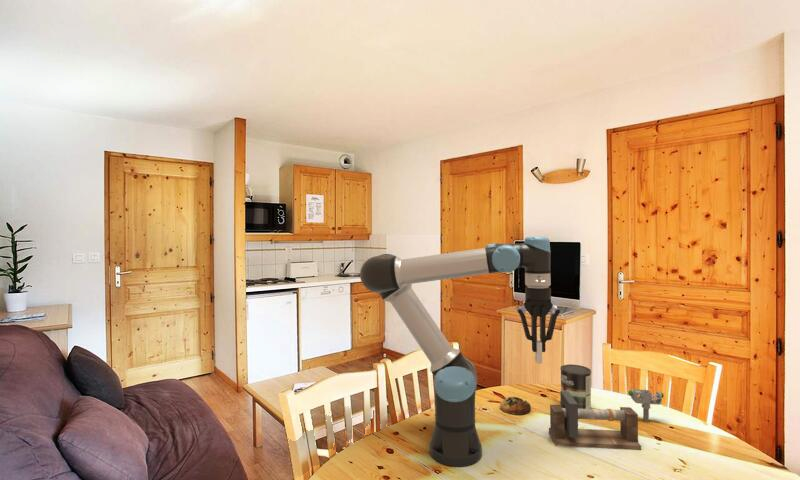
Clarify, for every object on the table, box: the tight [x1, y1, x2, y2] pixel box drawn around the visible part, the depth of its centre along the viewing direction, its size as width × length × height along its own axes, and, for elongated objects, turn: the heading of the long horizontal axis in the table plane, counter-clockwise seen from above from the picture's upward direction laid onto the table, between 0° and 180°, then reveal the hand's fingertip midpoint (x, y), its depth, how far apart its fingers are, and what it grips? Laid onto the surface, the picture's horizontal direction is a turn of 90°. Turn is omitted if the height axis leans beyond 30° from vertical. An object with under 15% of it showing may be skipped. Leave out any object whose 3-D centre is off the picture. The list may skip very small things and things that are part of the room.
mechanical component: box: [628, 388, 665, 423], centre depth 138 cm, size 3×10×10 cm, turn 79°
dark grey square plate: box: [559, 390, 579, 438], centre depth 127 cm, size 2×10×10 cm, turn 173°
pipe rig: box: [548, 404, 642, 451], centre depth 126 cm, size 24×9×10 cm, turn 83°
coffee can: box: [560, 364, 592, 409], centre depth 149 cm, size 10×10×14 cm
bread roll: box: [499, 396, 532, 415], centre depth 149 cm, size 11×11×5 cm
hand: (538, 362), depth 127 cm, fingers closed
